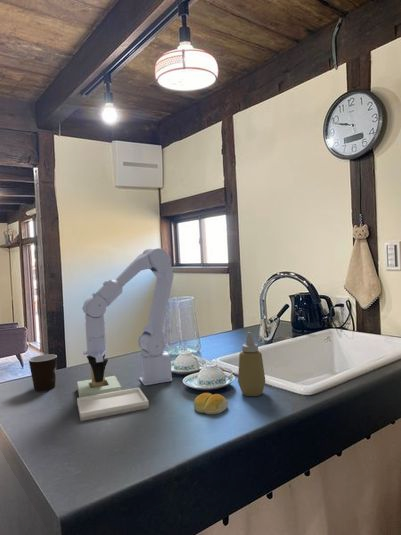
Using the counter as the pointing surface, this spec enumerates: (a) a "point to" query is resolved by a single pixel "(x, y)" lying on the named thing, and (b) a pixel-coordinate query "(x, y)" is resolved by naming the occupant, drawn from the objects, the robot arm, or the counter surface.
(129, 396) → the tray
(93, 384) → the oak pin
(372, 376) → the counter surface
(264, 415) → the counter surface
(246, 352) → the squeeze bottle
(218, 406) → the bread roll
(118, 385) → the pin holder
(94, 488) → the counter surface
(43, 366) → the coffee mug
